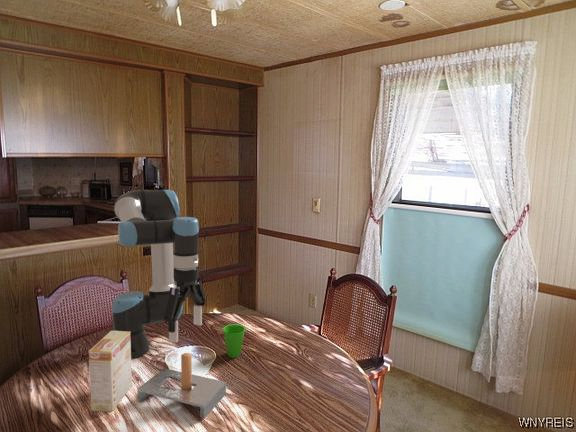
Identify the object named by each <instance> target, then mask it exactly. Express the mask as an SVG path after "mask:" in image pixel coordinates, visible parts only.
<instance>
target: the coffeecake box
mask: <svg viewBox="0 0 576 432" xmlns="http://www.w3.org/2000/svg"><path fill="white" fill-rule="evenodd" d="M88 364H89V365H88V368H89V383H90V385H89V386H90V388H89V389H90V406H91V407H90V410H91V411H92V412H111V413H112V412H114V410H115V409H116V407H117V406H118V405H119V403H120V402H121V401H122V399H123V398H124V397H125V395H126V394H128V393H127V392H128V391H129V390H130V389H131V388H132V386H133V377H132V376H133V375H132V359H131V339H130V332H128V331H113V330H110V331H108V333H107V334H106V335H104V336H103V338H101V340H99V341H98V342H97V343H96V344H95V345H94V346H93V347H91V348H90V349H89V350H88Z"/></svg>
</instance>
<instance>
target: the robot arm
mask: <svg viewBox="0 0 576 432" xmlns="http://www.w3.org/2000/svg"><path fill="white" fill-rule="evenodd" d="M113 210H114V214H115V216H116V217H117V219H119V220H120V222H119V223H118V227H117V230H118V231H117V235H118V244H119V245H120V246H123V247H124V246H126V247H127V246H129V247H135V246H143V245H144V246H146V245H150V252H151V254H150V255H151V257H150V258H151V279H152V284H151V286H150V288H149V289H148V294H145V293H144V292H143V291H141V290H137V291H136V290H133V291H132V290H131V291H128V292H127V291H126V292H124V293H121V294H118V295H117V296H115V298H114V299H113V300H112V308H111V313H112V331H128V332H130V339H131V360H134V359H136V358H139V357H143V356H144V355H146V354H147V353H148V352H149V351H150V341H149V339H148V337H147V334H146V331H145V326H146V325H149V324H151V325H152V324H157V323H163V322H165V323H168V326H167V327H168V329H167V330H168V341H169V342H172V343H179V320H178V319H179V318H180V317H182V312H183V309H184V308H183V306H184V302H186V299H187V298H188V297H189V298H191V300H192V301H193V303H194V305H193V325H197V326H202V325H203V306H206V302H207V297H206V294H205V291H204V287H203V285H202V277H199V268H198V266H199V259H200V258H199V231H200V228H199V220H198V219H197V218H196V217H192V216H180V215H181V214H180V203H179V199H178V196H177V194H176V192H175V191H174V190H172V189H136V190H134V189H133V190H130V191H127V192H125V193H123V194H121V195H120V196H119V197H118V198H117V199H116V200H115V203H114V205H113ZM175 282H176V284H175Z"/></svg>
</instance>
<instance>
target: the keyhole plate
mask: <svg viewBox="0 0 576 432" xmlns="http://www.w3.org/2000/svg"><path fill="white" fill-rule="evenodd" d="M168 379H172V380H178V381H181V371H180V370H174V369H169V368H166V367H164V368H163V369H161V370H160V371H158V373H156V374H155V375H153V376H152V377H151V378H150V379H148V380H147V381H145V382H144V383H143V384H142V385H141V386H139V387H137V390H136V391H137V392H136V393H137V394H136V395H137V402H138V403H142V402H144V401H145V400H146V399H147V398H148V397H150V396H155V397H158V398H164V399H165V400H170V401H175V402H179V403H180V402H182V403H186V404H187V405H190V406H194V407H199V408H200V410H199V411H200V415H199V416H200V419H201V420H205V419H206V417H208V415H210V413H211V411H212V410H214V409H215V407H216V406H217V405H218V404H219V403H220V402H221V401H222V399H223V398H224V397H225V396H226V395H227V381H223V380H218V379H214V378H209V377H205V376H202V375H196V374H192V386H193V388H192V390H191V391H185V390H181V388H176V389H175V390H174V389H169V388H165V387H162V386H163V385H164V384H165V383H167V382H168ZM182 403H181V404H182ZM186 404H185V405H186Z"/></svg>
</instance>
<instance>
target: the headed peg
mask: <svg viewBox="0 0 576 432" xmlns="http://www.w3.org/2000/svg"><path fill="white" fill-rule="evenodd" d="M180 356H181V357H180V358H181V360H180V361H181V362H180V365H181V368H180V369H181V370H180V372H181V380H180V382H181V386H180V387H181V388H180V389H181V390H185V391H191V390H192V389H193V388H192V375H193V374H192V369H193V368H192V367H193V366H192V363H193V362H192V359H193V358H192V353H190V352H185V353H182V354H181V355H180ZM179 403H180V404H182V405H183V404H185V405H186V403H182V402H179Z"/></svg>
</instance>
